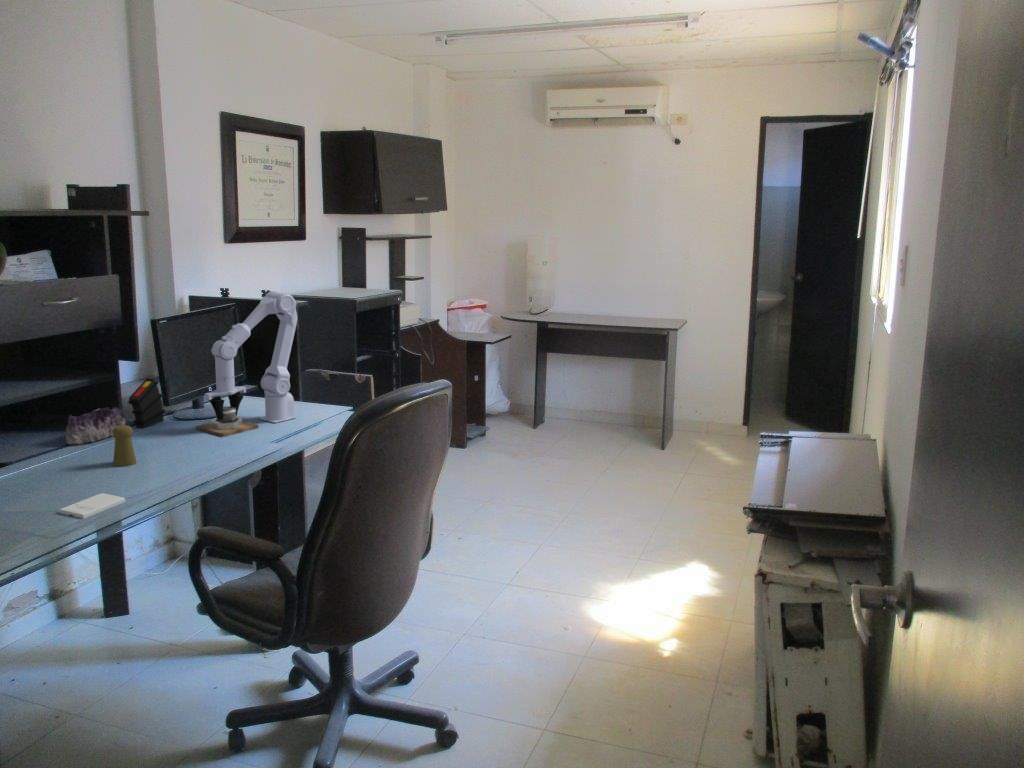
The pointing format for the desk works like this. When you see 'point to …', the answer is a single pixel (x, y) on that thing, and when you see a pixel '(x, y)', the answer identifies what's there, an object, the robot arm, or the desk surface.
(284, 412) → the robot arm
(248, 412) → the desk surface
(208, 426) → the walnut board
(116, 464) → the cork
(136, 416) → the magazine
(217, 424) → the mount ring
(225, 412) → the charcoal lens
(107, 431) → the geode
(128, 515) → the desk surface
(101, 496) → the external hard drive
